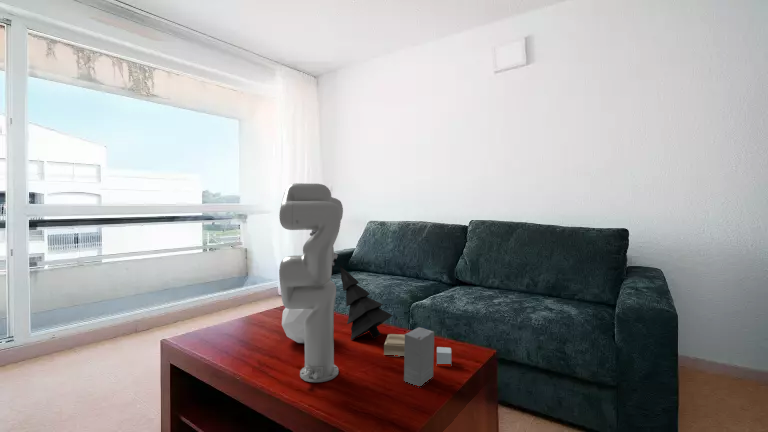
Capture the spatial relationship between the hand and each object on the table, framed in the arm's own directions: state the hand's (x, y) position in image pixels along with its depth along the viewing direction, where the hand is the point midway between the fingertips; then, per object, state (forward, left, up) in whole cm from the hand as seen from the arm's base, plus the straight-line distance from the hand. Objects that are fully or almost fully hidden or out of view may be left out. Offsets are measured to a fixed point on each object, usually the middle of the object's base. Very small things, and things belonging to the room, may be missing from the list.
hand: (321, 276), depth 149 cm
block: (-14, -50, -27) cm, 58 cm away
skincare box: (-28, -42, -27) cm, 57 cm away
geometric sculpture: (0, +6, -27) cm, 28 cm away
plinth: (-4, -34, -27) cm, 43 cm away
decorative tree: (+10, -15, -27) cm, 32 cm away
